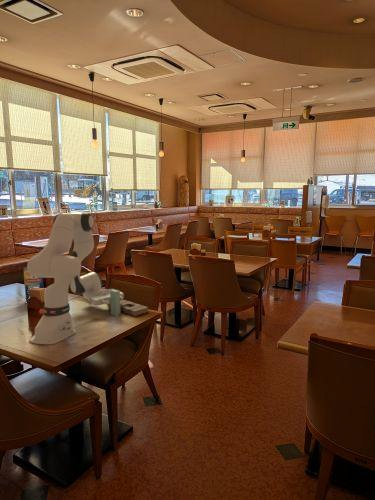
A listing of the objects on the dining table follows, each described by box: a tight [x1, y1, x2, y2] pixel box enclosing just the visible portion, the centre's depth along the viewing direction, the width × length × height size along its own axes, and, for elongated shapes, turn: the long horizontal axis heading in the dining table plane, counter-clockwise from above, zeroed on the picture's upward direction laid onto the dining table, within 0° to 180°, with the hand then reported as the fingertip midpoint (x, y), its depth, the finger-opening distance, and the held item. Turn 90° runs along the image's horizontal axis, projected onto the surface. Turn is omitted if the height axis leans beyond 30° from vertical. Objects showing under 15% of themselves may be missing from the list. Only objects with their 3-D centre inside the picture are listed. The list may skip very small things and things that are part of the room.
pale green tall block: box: [110, 288, 121, 316], centre depth 207 cm, size 5×3×14 cm, turn 47°
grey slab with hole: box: [120, 299, 149, 317], centre depth 215 cm, size 22×10×3 cm, turn 47°
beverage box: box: [23, 266, 44, 303], centre depth 233 cm, size 7×11×22 cm, turn 113°
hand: (115, 301), depth 206 cm, fingers open, 8 cm apart
